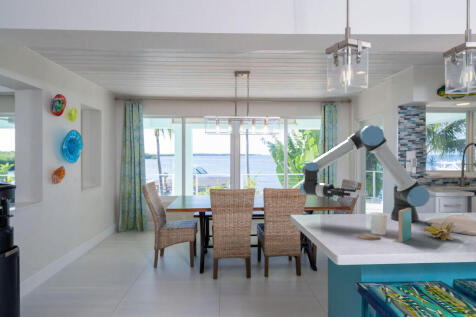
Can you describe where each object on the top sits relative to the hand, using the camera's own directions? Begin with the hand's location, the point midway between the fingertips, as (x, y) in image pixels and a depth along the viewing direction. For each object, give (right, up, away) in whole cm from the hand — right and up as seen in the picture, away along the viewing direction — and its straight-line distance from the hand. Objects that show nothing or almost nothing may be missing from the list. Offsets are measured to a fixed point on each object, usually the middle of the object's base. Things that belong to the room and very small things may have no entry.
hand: (362, 194), depth 164 cm
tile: (+12, -19, -20) cm, 30 cm away
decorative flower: (+30, -19, -15) cm, 39 cm away
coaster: (-3, -19, -14) cm, 24 cm away
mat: (+16, -19, -23) cm, 34 cm away
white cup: (+6, -19, -6) cm, 21 cm away
